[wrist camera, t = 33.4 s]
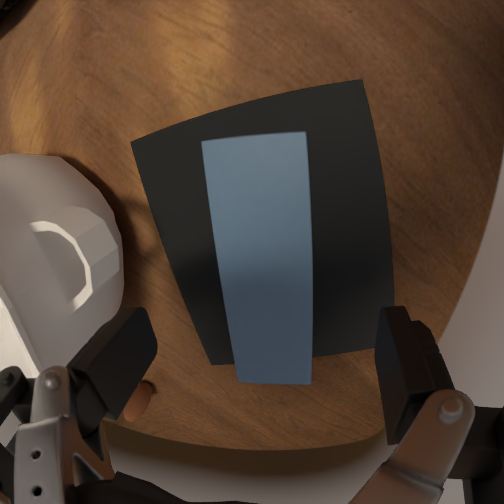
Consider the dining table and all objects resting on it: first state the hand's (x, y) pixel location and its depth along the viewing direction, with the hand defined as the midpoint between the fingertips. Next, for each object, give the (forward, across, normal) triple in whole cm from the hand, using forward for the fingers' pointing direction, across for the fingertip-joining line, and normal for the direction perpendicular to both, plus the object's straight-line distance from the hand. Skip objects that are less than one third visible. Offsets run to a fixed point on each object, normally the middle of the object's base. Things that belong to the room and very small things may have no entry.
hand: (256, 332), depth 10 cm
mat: (+10, +1, +1) cm, 10 cm away
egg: (+10, +14, +15) cm, 23 cm away
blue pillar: (+7, +1, +8) cm, 11 cm away
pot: (+10, +18, 0) cm, 21 cm away
